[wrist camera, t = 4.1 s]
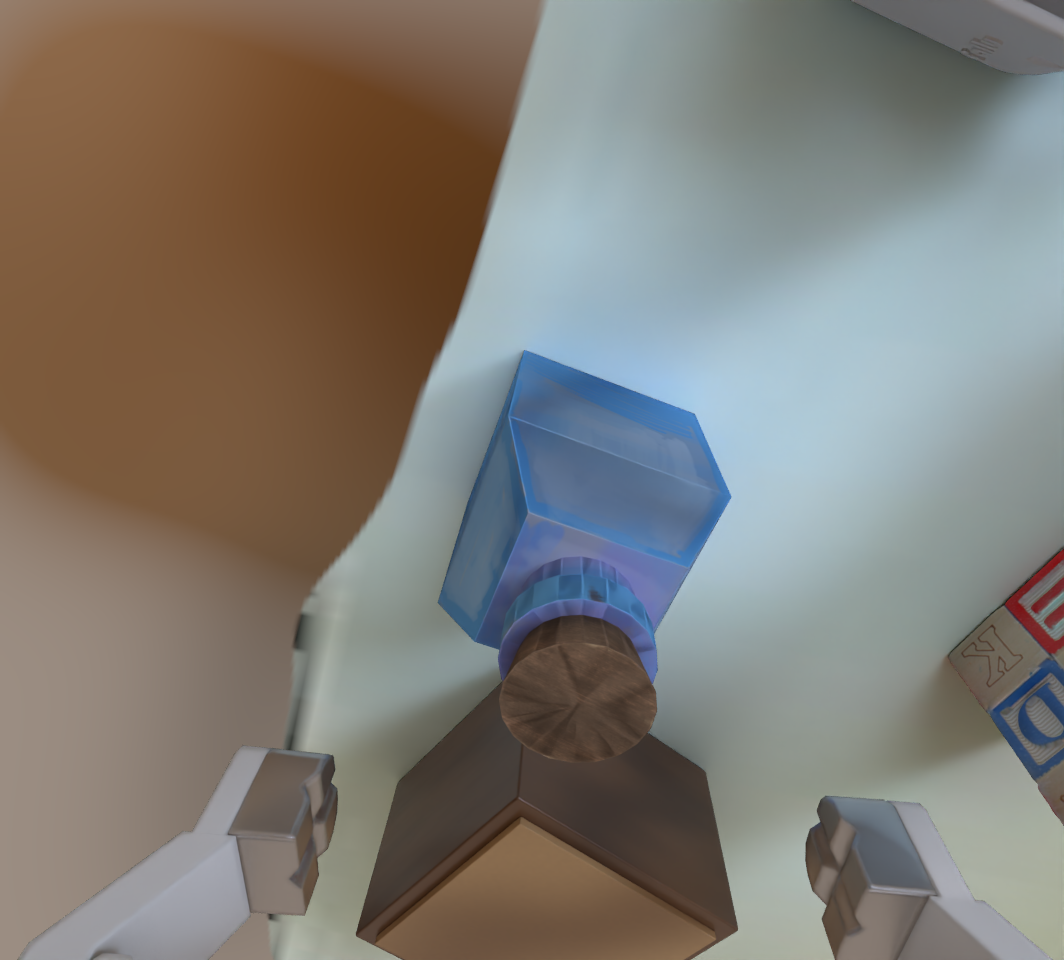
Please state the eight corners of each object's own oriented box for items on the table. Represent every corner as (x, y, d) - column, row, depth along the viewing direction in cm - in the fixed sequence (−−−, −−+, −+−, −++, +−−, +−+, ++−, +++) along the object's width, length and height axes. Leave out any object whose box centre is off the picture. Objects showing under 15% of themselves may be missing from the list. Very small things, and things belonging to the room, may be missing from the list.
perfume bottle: (467, 503, 26) (389, 763, 15) (524, 350, 23) (479, 530, 12) (622, 557, 26) (654, 843, 16) (694, 414, 24) (794, 639, 13)
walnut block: (706, 770, 31) (741, 939, 24) (563, 878, 35) (560, 1049, 28) (530, 653, 29) (516, 805, 22) (397, 782, 32) (351, 944, 26)
